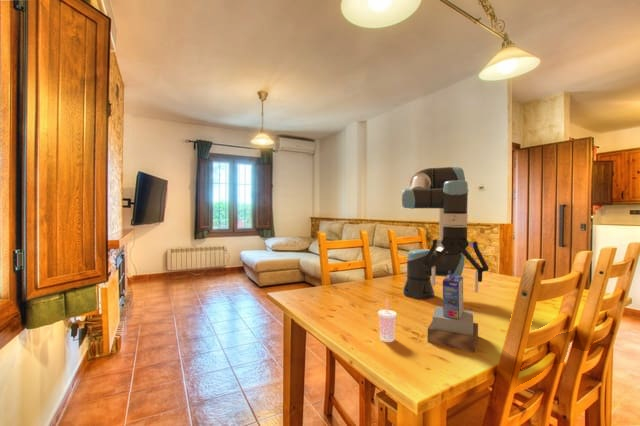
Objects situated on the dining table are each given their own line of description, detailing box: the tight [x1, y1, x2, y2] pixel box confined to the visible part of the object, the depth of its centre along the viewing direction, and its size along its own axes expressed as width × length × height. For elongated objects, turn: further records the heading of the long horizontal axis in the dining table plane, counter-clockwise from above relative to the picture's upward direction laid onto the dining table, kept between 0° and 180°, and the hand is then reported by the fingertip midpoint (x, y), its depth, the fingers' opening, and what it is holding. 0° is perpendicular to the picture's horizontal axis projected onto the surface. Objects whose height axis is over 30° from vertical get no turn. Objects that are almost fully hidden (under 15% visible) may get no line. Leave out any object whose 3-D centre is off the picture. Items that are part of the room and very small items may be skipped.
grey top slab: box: [432, 305, 474, 336], centre depth 101 cm, size 12×12×4 cm
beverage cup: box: [377, 297, 397, 343], centre depth 100 cm, size 6×6×14 cm
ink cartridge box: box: [442, 270, 464, 319], centre depth 101 cm, size 10×6×14 cm, turn 148°
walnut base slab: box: [427, 320, 479, 354], centre depth 101 cm, size 14×14×5 cm
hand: (454, 288), depth 101 cm, fingers open, 13 cm apart
